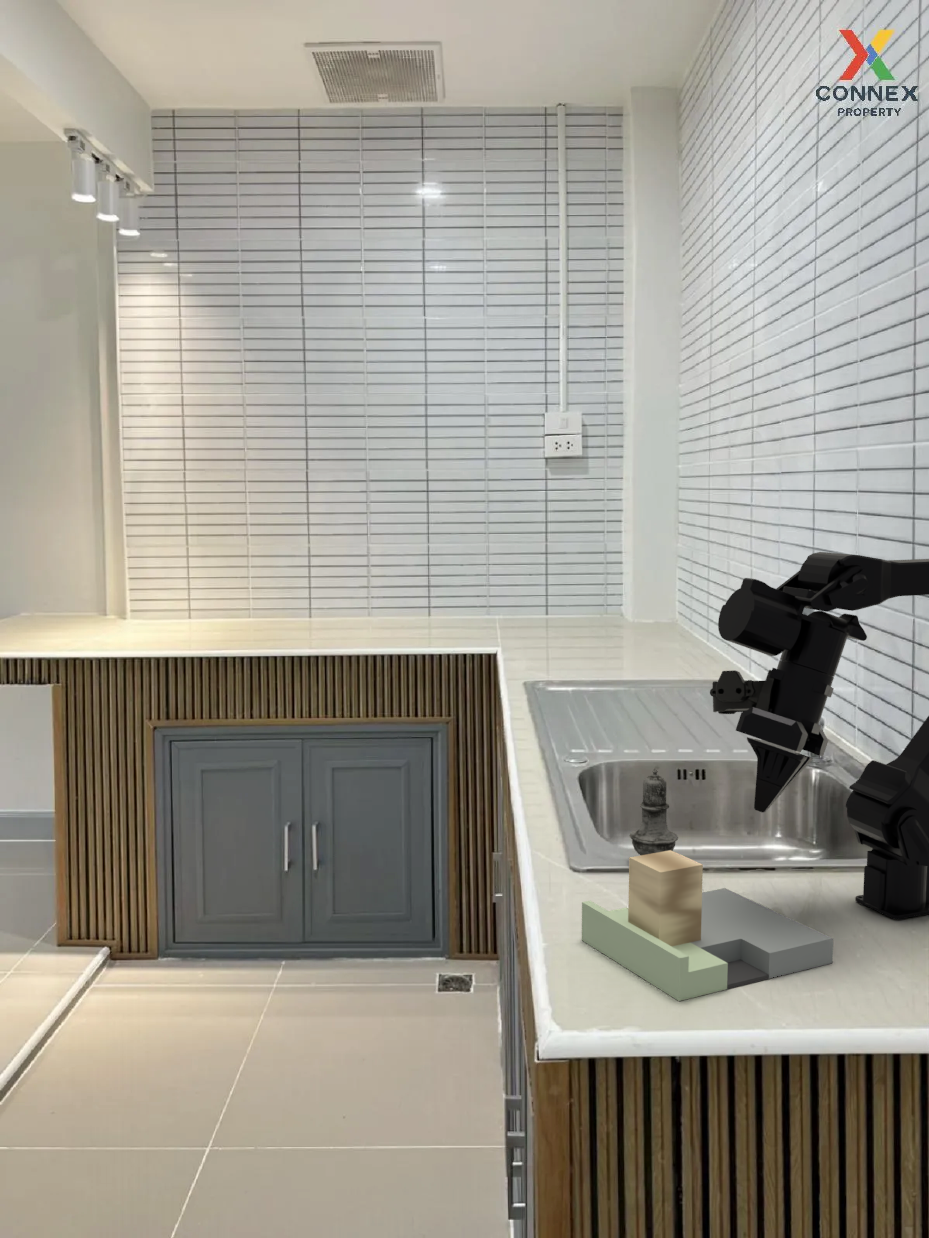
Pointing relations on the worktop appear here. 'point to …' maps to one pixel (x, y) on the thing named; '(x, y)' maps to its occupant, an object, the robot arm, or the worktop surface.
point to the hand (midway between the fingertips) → (759, 811)
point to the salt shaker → (653, 819)
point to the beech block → (666, 896)
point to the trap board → (710, 946)
